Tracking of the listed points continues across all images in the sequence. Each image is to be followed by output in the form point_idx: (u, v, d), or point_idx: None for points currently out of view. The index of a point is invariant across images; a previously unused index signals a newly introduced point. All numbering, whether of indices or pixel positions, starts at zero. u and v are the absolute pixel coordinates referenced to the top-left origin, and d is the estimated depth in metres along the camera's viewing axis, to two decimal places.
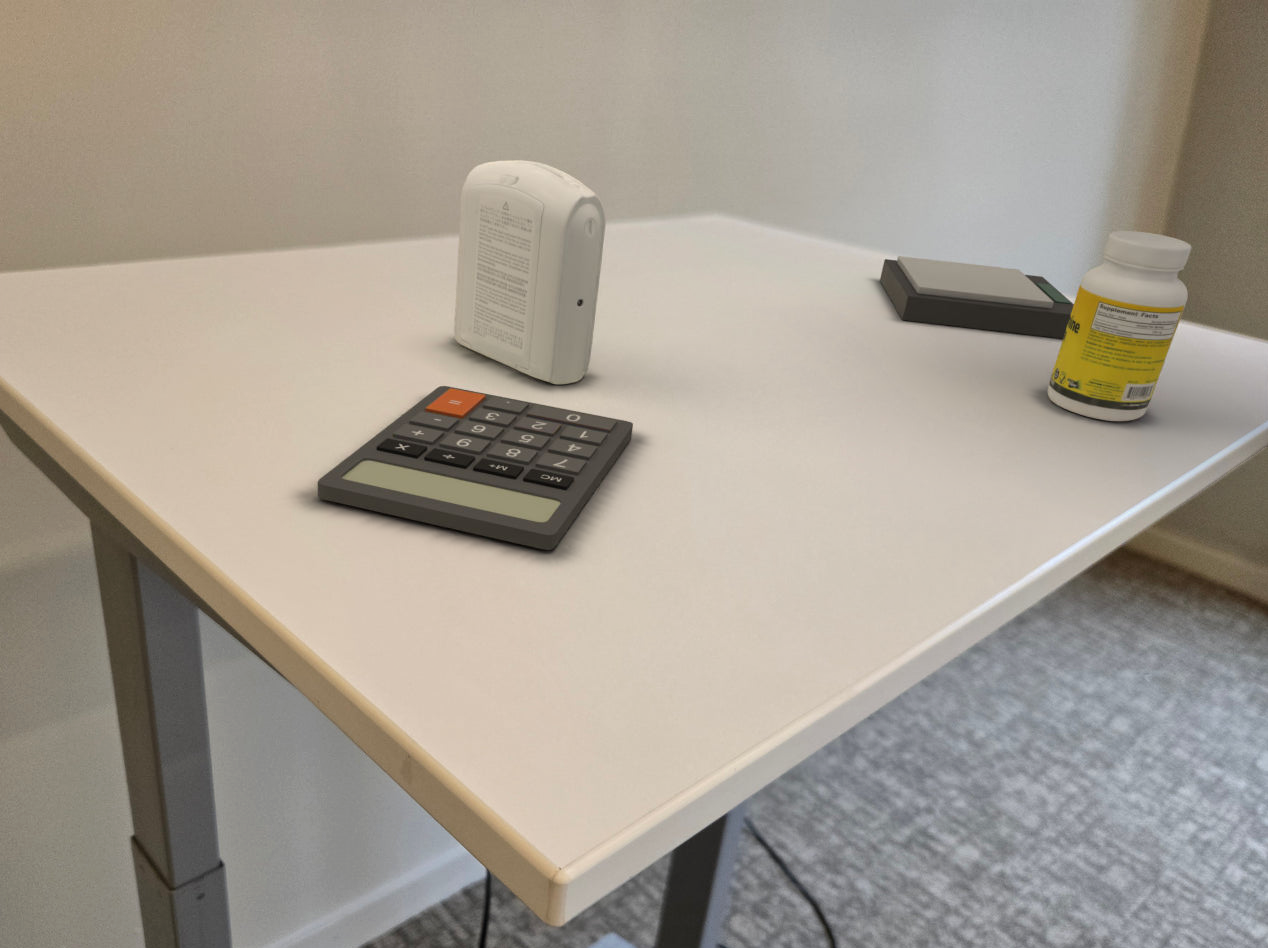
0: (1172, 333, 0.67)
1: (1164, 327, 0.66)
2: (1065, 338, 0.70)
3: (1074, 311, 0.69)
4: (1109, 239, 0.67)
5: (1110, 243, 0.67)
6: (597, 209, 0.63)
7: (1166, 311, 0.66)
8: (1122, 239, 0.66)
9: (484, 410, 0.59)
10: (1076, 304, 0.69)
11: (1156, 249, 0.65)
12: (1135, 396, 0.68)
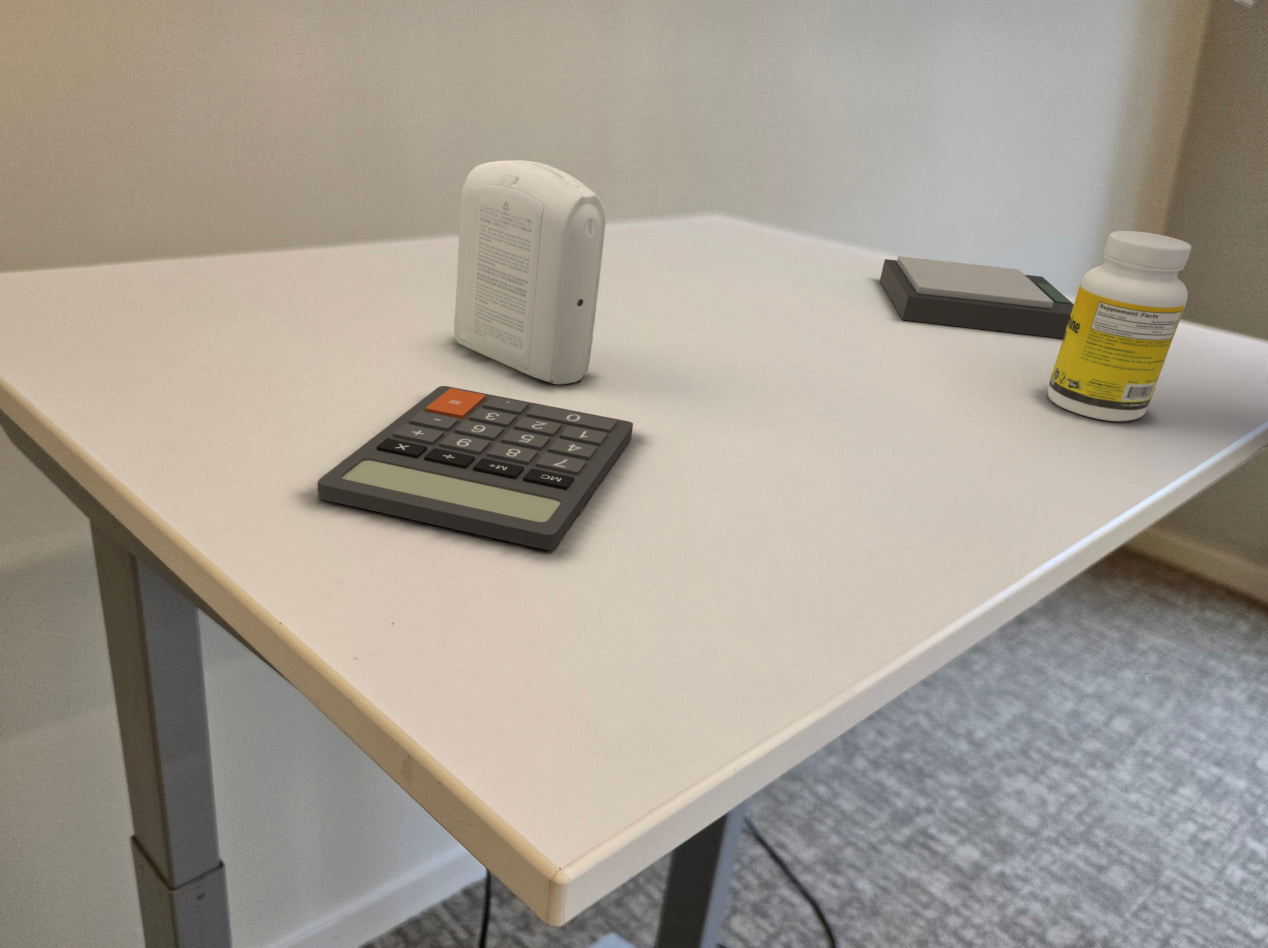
0: (1172, 333, 0.67)
1: (1164, 327, 0.66)
2: (1065, 338, 0.70)
3: (1074, 311, 0.69)
4: (1109, 239, 0.67)
5: (1110, 243, 0.67)
6: (597, 209, 0.63)
7: (1166, 311, 0.66)
8: (1122, 239, 0.66)
9: (484, 410, 0.59)
10: (1076, 304, 0.69)
11: (1156, 249, 0.65)
12: (1135, 396, 0.68)
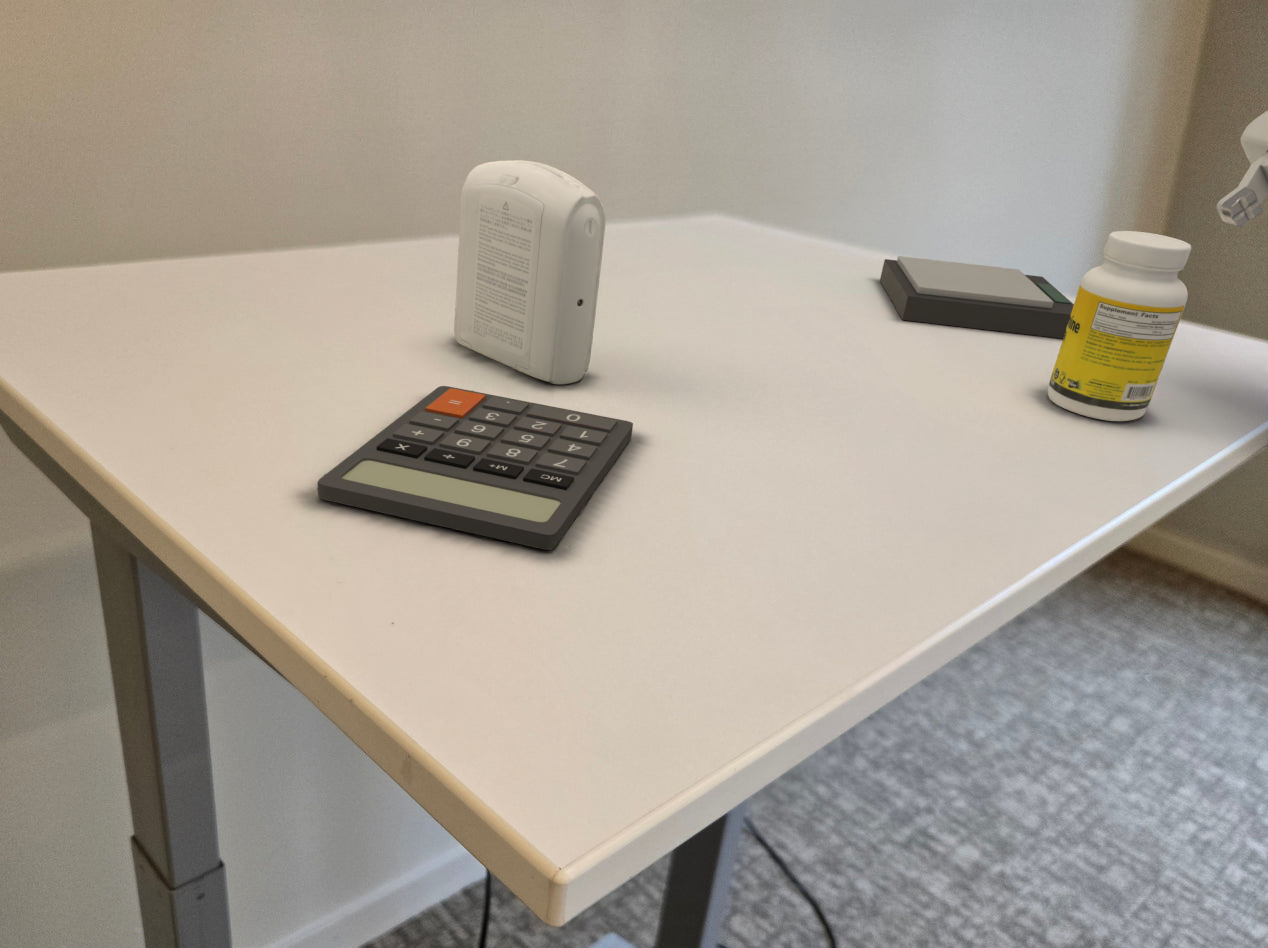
0: (1172, 333, 0.67)
1: (1164, 327, 0.66)
2: (1065, 338, 0.70)
3: (1074, 311, 0.69)
4: (1109, 239, 0.67)
5: (1110, 243, 0.67)
6: (597, 209, 0.63)
7: (1166, 311, 0.66)
8: (1122, 239, 0.66)
9: (484, 410, 0.59)
10: (1076, 304, 0.69)
11: (1156, 249, 0.65)
12: (1135, 396, 0.68)
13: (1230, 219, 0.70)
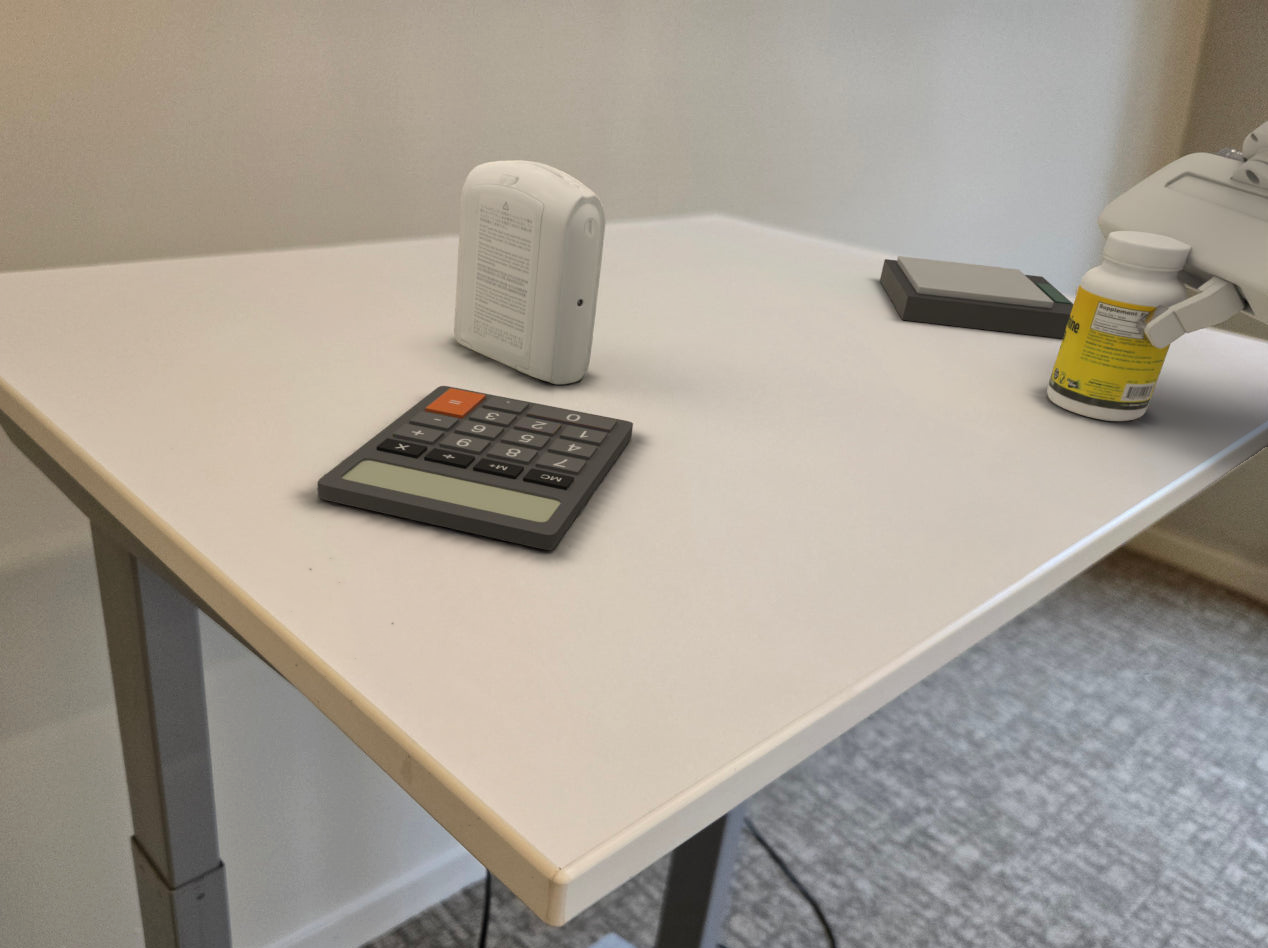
0: None
1: None
2: (1065, 338, 0.70)
3: (1074, 311, 0.69)
4: (1109, 239, 0.67)
5: (1110, 243, 0.67)
6: (597, 209, 0.63)
7: None
8: (1122, 239, 0.66)
9: (484, 410, 0.59)
10: (1076, 304, 0.69)
11: (1156, 250, 0.65)
12: (1135, 396, 0.68)
13: None
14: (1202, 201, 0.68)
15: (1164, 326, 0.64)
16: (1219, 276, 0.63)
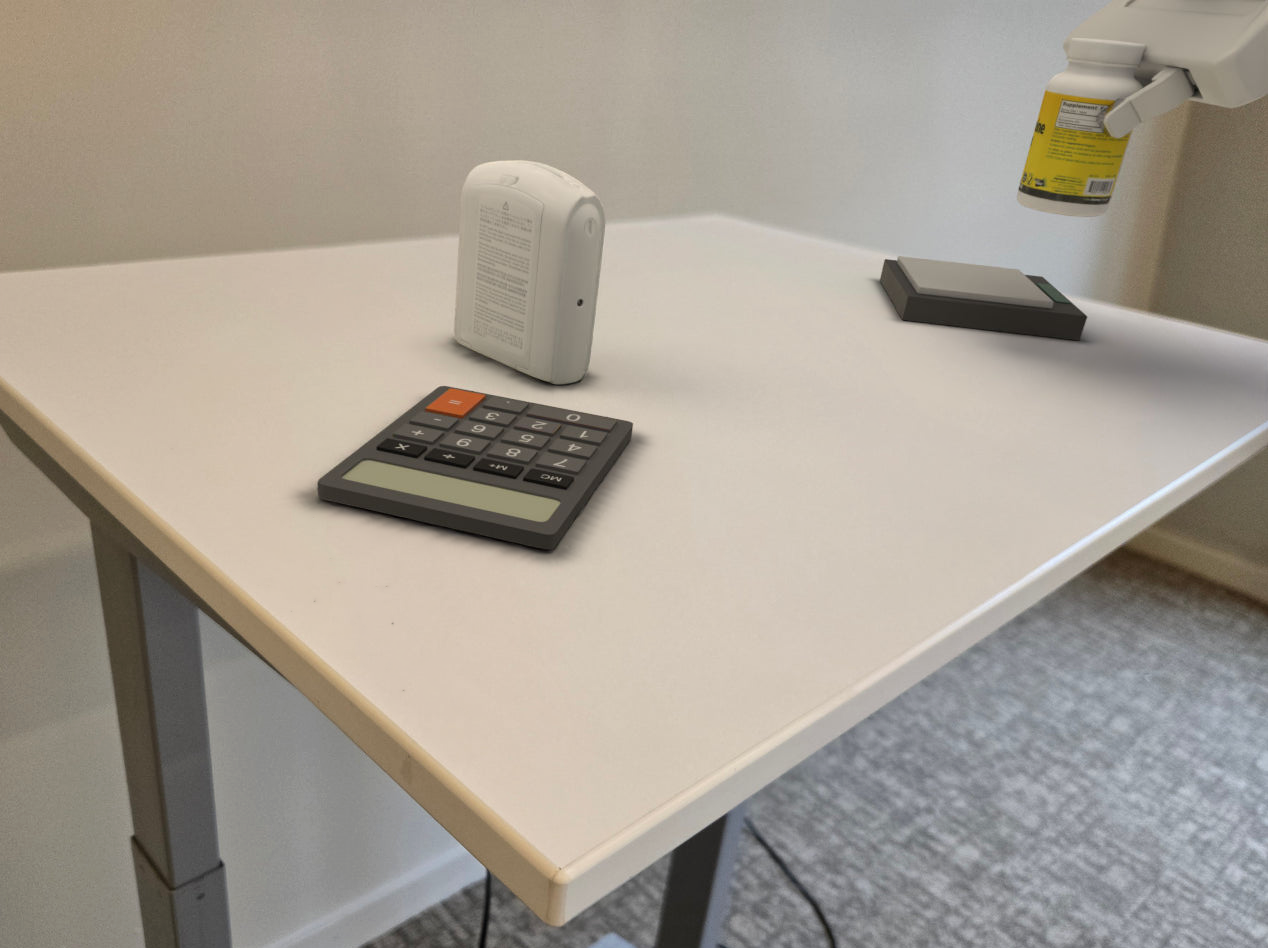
0: None
1: None
2: (1032, 142, 0.76)
3: (1040, 115, 0.75)
4: (1071, 42, 0.73)
5: (1072, 45, 0.72)
6: (597, 209, 0.63)
7: None
8: (1082, 39, 0.71)
9: (484, 410, 0.59)
10: (1042, 108, 0.75)
11: (1113, 45, 0.70)
12: (1096, 190, 0.74)
13: None
14: (1157, 10, 0.74)
15: (1121, 115, 0.70)
16: (1170, 65, 0.69)
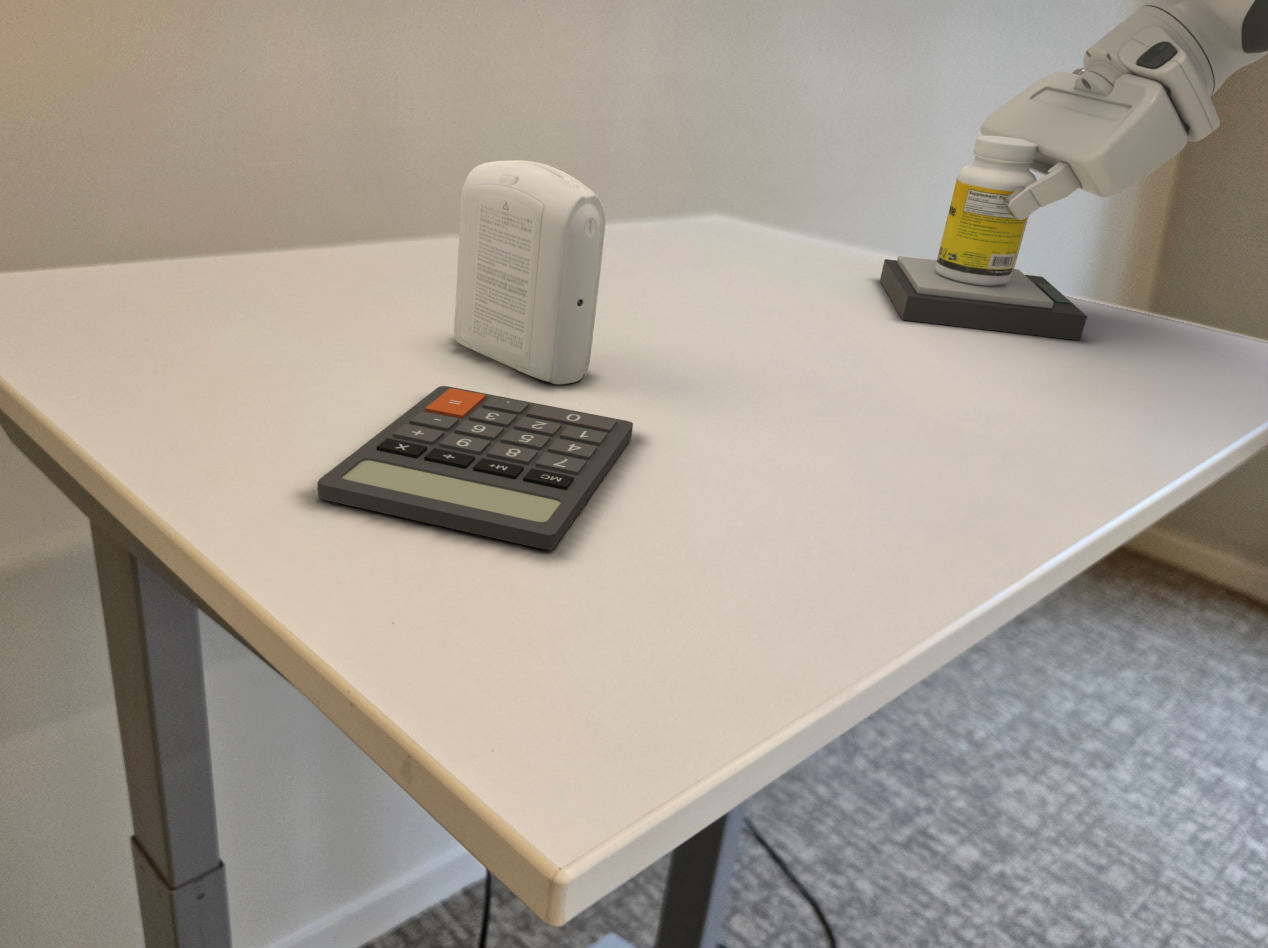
0: None
1: None
2: (946, 222, 0.89)
3: (952, 199, 0.88)
4: (976, 140, 0.86)
5: (977, 143, 0.86)
6: (597, 209, 0.63)
7: None
8: (985, 139, 0.85)
9: (484, 410, 0.59)
10: (953, 193, 0.88)
11: (1009, 146, 0.84)
12: (999, 264, 0.87)
13: None
14: (1052, 106, 0.87)
15: (1023, 201, 0.83)
16: (1056, 158, 0.82)
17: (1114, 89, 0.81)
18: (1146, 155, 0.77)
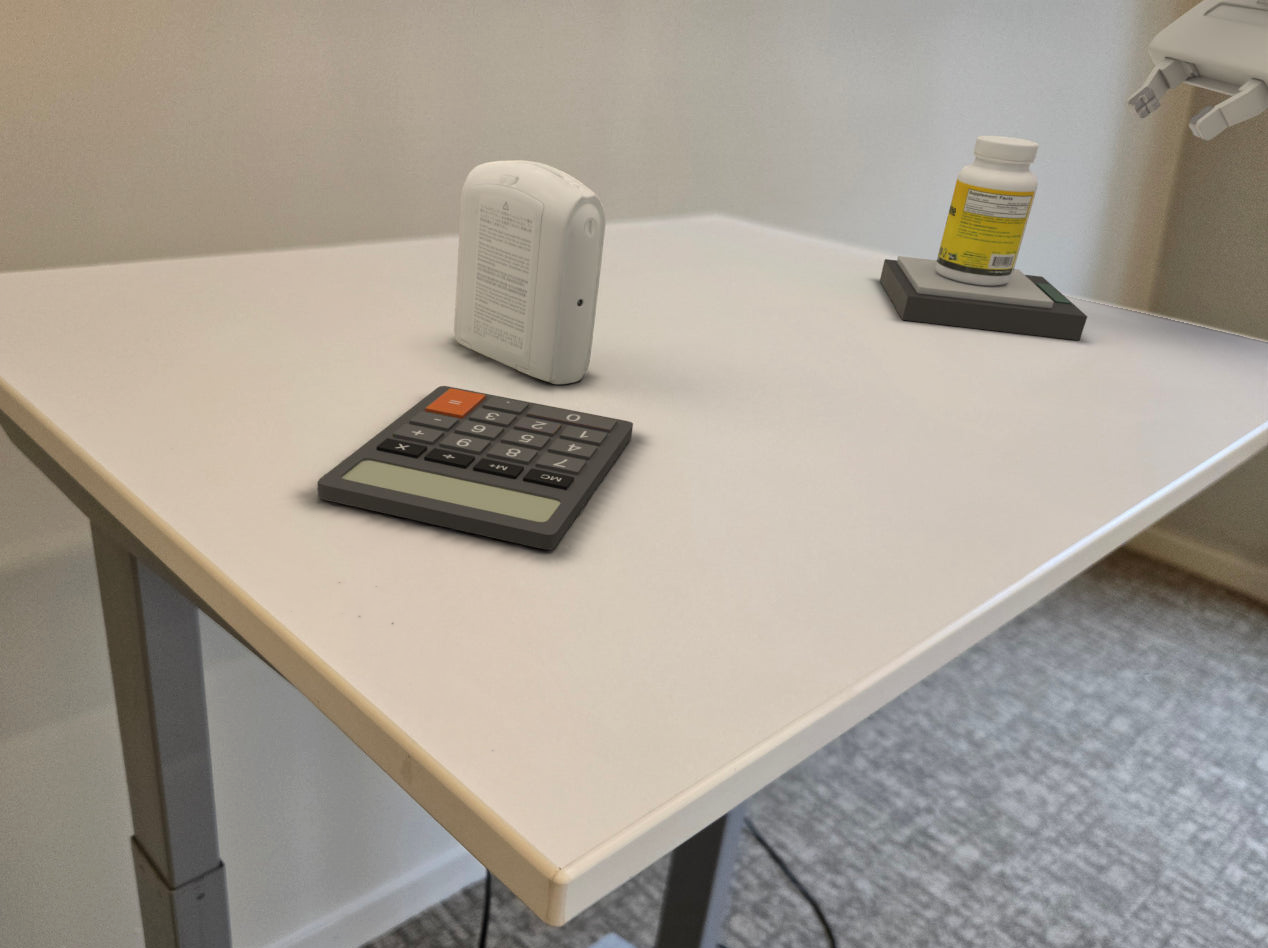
0: (1025, 213, 0.86)
1: (1018, 208, 0.85)
2: (947, 221, 0.89)
3: (952, 199, 0.88)
4: (977, 140, 0.86)
5: (977, 143, 0.86)
6: (597, 209, 0.63)
7: (1018, 195, 0.85)
8: (985, 139, 0.85)
9: (484, 410, 0.59)
10: (954, 193, 0.88)
11: (1009, 146, 0.84)
12: (999, 264, 0.87)
13: (1135, 112, 0.91)
14: (1234, 22, 0.85)
15: (1211, 121, 0.82)
16: (1247, 75, 0.81)
17: None
18: None
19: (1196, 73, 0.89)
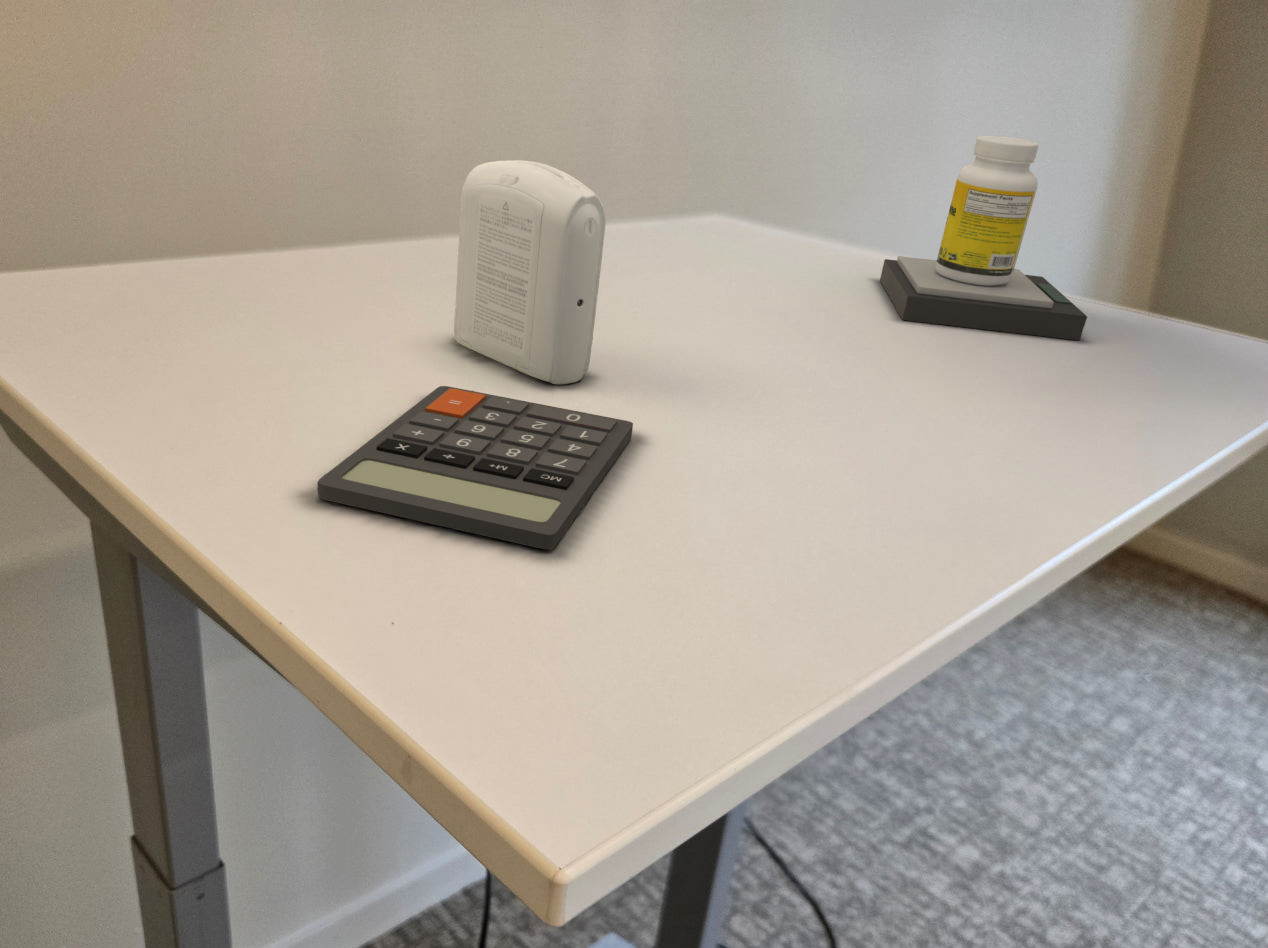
0: (1025, 213, 0.86)
1: (1018, 208, 0.85)
2: (947, 221, 0.89)
3: (952, 199, 0.88)
4: (977, 140, 0.86)
5: (977, 143, 0.86)
6: (597, 209, 0.63)
7: (1018, 195, 0.85)
8: (985, 139, 0.85)
9: (484, 410, 0.59)
10: (954, 193, 0.88)
11: (1009, 146, 0.84)
12: (999, 264, 0.87)
13: None
14: None
15: None
16: None
17: None
18: None
19: None
